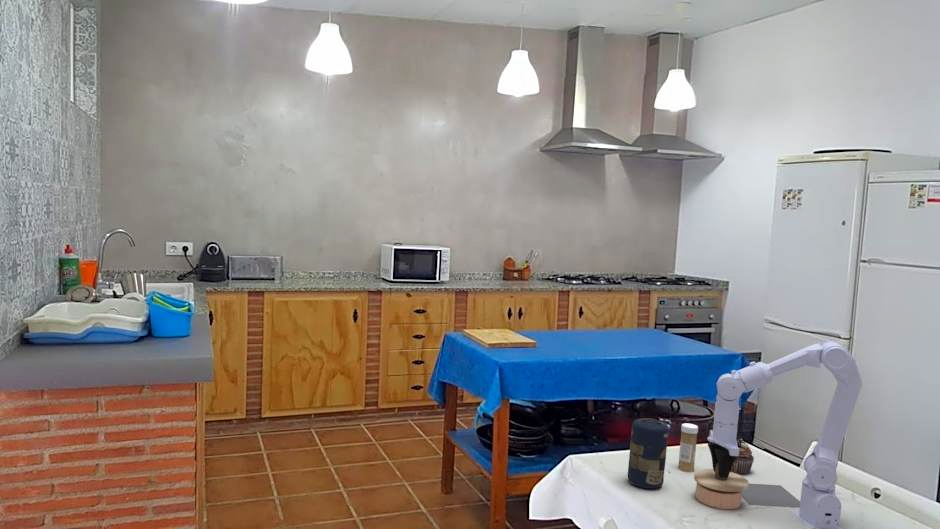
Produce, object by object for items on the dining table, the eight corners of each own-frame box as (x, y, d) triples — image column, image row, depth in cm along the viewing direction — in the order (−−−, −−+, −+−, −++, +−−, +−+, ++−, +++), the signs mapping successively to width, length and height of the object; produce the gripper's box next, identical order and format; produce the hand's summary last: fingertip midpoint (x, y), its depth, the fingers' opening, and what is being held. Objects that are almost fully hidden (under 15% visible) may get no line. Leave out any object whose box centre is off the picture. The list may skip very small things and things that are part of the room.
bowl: (747, 513, 177) (748, 495, 176) (704, 510, 176) (706, 493, 176) (730, 496, 187) (731, 479, 187) (690, 493, 187) (691, 477, 187)
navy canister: (633, 474, 198) (639, 411, 196) (667, 483, 193) (673, 418, 192) (622, 484, 189) (627, 418, 188) (657, 494, 185) (663, 426, 183)
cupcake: (758, 479, 201) (761, 444, 201) (723, 476, 201) (727, 442, 201) (744, 467, 211) (748, 434, 210) (712, 464, 211) (715, 431, 210)
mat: (807, 510, 181) (807, 507, 181) (749, 506, 180) (749, 504, 180) (780, 487, 196) (780, 485, 196) (726, 484, 195) (726, 482, 195)
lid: (757, 491, 175) (758, 474, 175) (706, 491, 174) (707, 474, 174) (734, 472, 188) (735, 456, 188) (686, 471, 187) (687, 455, 187)
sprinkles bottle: (697, 472, 203) (701, 426, 202) (686, 475, 200) (691, 428, 199) (684, 467, 207) (688, 421, 206) (673, 469, 204) (678, 423, 203)
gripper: (700, 412, 187) (695, 463, 188) (720, 429, 173) (715, 484, 174) (726, 414, 188) (721, 464, 189) (749, 431, 173) (744, 485, 174)
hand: (720, 474), depth 181 cm, fingers closed on lid, 3 cm apart
